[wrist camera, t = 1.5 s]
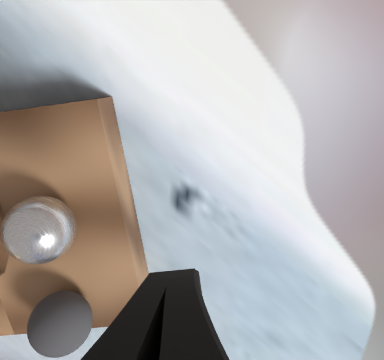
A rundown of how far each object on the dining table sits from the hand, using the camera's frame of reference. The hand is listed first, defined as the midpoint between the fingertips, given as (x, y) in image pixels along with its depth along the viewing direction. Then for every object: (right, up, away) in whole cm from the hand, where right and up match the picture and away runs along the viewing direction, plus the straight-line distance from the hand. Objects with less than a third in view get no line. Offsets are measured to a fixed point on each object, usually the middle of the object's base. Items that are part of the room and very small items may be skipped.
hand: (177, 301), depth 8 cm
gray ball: (-7, -4, +8) cm, 11 cm away
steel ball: (-7, +1, +6) cm, 9 cm away
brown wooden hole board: (-11, +1, +10) cm, 15 cm away
